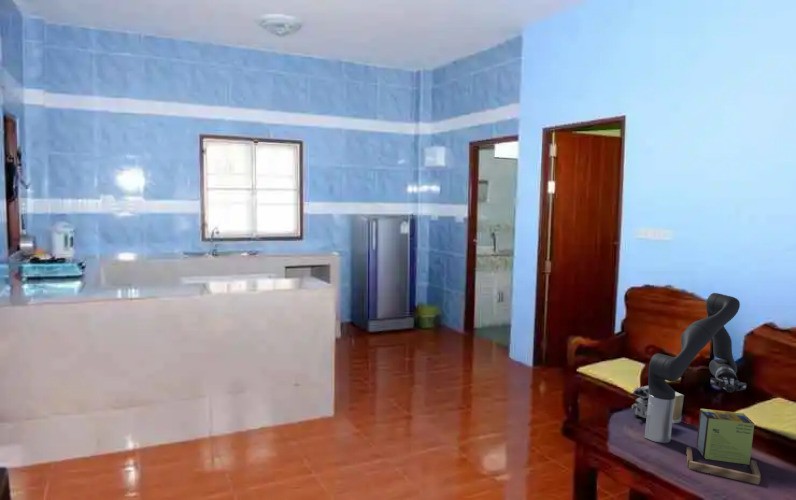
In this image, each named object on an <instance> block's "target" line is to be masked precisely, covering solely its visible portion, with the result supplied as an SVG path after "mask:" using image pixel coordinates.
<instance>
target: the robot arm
mask: <svg viewBox="0 0 796 500" xmlns="http://www.w3.org/2000/svg"><path fill="white" fill-rule="evenodd" d="M740 307H741V303H740V301H739V299H738V298H736V297H734V296H731V295H726V294H722V293H718V292H713V293H711V294H709V295H708V297H707V298H706V304H705V308H706V313H707V317H703V318H702V319H699V320H696V321H693V322H692V323H690V324H689V325H688V326H687V327H686V329H684V331H683V332H682V334H681V336H680V347H681V351H680V352H679V353H678V354H677V356H675V357H673V356H669V355H667V354H663V353H655V354H653V355H652V356H651V358H650V361H649V365H648V385H647V386H648V387H649V399H648V409H647V418H645V419H646V421H645V430H644V438H645V439H647V440H649V441H652V442H655V443H662V444H668V443H670V442H671V440H672V439H671V437H672V427H673V423H672V420H673V411H674V401H675V392H676V391H675V390H674V389H673V388H672V387H671V385H669V384H668V383H667V381H668V382H670V383H671V382H676V381H678V380H679V379H680V378H681V377H682V376H683V375H684V373H685V372H686V370H687V369H688V368H689V366H690V365H691V363H692V362H693V360H694V359H695V358H696V356H697V355H698V354H699V353H700V352H701V351H702V350H703V349H704V348H705V347H706V346H707V344H708V343H710V341H711V340H712V347H713V348H712V349H713V350H712V351H713V352H712V353H713V356H714V357H716V359H712V360H711V361H710V362H709V365H708V368H709V372H710V373H711V374H712V376H714V377H712V376H711V377H710V385H713V386H715V387H716V388H719V389H723V390H725V391H726V392H727V393H731V394H732V393H733V392H735V391H736V392H739V391H745V390H746V389H747V383H746V382H740V380H739V379H738V376H737V373H738V368H737V367H738V366H737V363H736V361H735V359H734V355H733V343H732V338H731V336H730V333H729V332H728V330H727V329H726V327H725V326H726V324H728V323H729V322H730V321H731V320H733V319H734V318H735V316H736V315H737V314H738V312H739V310H740Z"/></svg>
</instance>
